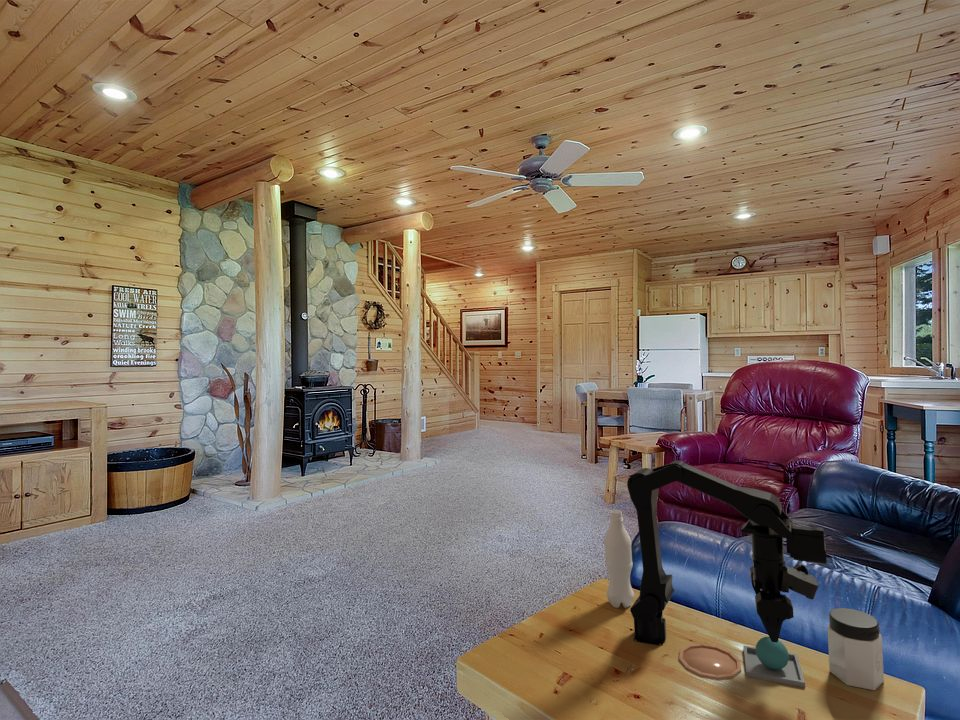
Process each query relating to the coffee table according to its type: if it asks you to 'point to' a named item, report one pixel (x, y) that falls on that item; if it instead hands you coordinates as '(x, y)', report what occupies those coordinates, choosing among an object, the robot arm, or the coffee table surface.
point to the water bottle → (618, 562)
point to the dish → (710, 661)
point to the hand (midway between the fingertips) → (771, 630)
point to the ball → (772, 653)
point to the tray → (786, 675)
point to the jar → (855, 648)
